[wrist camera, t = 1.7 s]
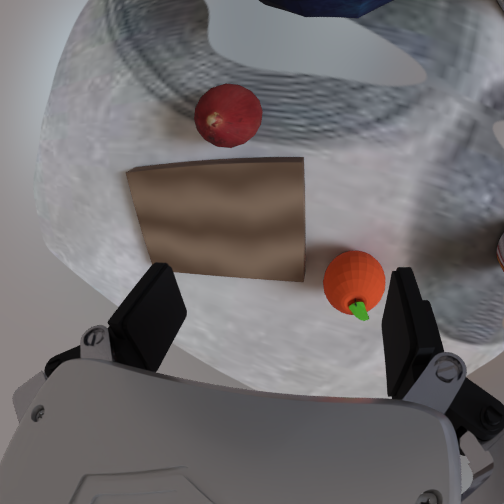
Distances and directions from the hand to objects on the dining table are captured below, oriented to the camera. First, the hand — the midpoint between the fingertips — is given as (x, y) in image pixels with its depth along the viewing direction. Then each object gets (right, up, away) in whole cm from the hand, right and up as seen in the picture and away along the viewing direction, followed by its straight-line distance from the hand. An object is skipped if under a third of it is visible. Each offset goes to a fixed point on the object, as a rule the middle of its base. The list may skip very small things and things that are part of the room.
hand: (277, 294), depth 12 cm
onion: (-2, +16, +15) cm, 21 cm away
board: (-5, +6, +22) cm, 23 cm away
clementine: (+11, 0, +21) cm, 24 cm away
